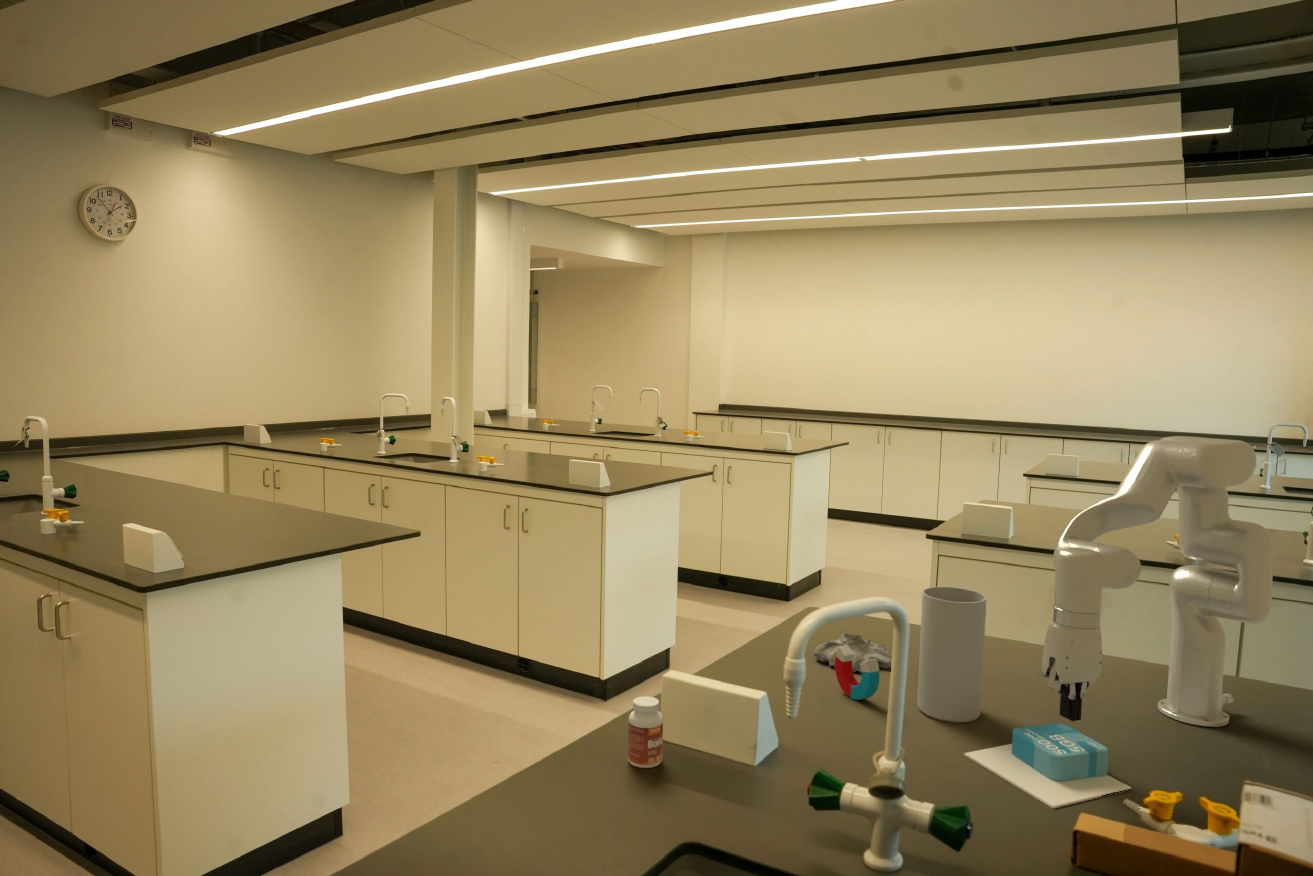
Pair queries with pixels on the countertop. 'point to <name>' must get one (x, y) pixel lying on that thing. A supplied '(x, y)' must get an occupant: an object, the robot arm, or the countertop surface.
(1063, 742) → the data package
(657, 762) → the pill bottle
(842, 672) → the magnet
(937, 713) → the cylinder vase
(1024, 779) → the mat
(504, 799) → the countertop surface
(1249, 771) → the countertop surface
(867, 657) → the fossil
